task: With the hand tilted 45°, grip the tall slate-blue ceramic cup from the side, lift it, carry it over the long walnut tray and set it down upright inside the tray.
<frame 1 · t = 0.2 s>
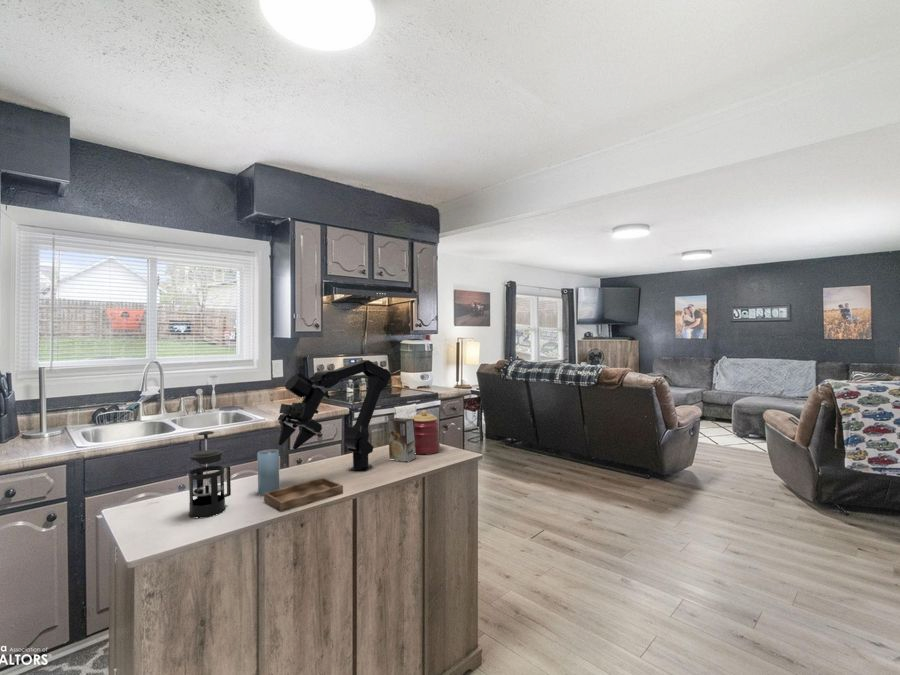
hand: (286, 446, 146), 14 cm above the counter, tool tilted 35°, fingers open, 9 cm apart
cup: (269, 492, 144), on the counter
french press: (209, 511, 129), on the counter
tray: (304, 497, 139), on the counter
coffee box: (402, 459, 180), on the counter
canister: (424, 451, 191), on the counter
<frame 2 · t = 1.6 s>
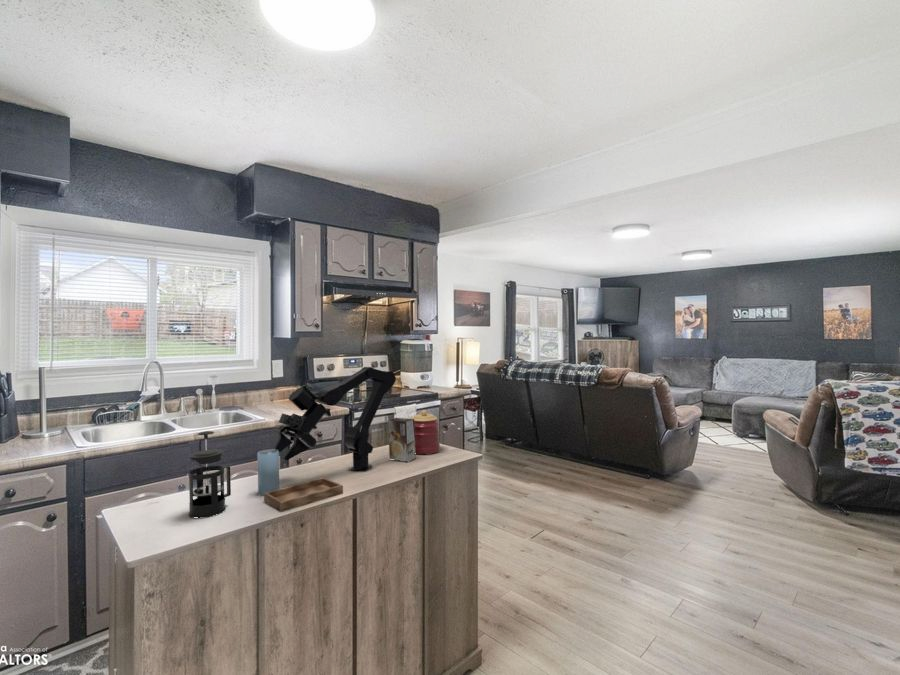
hand: (279, 457, 147), 11 cm above the counter, tool tilted 45°, fingers open, 9 cm apart
nothing on the counter moved.
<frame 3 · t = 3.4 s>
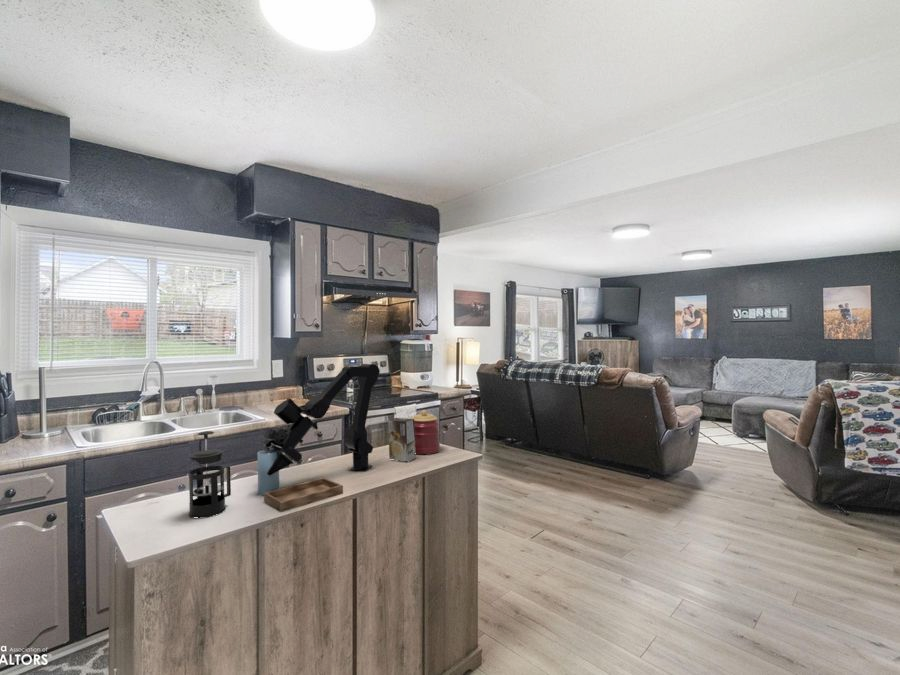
hand: (264, 472, 143), 7 cm above the counter, tool tilted 45°, fingers closed on cup, 6 cm apart
cup: (269, 492, 144), on the counter, touching gripper
everything else where it was.
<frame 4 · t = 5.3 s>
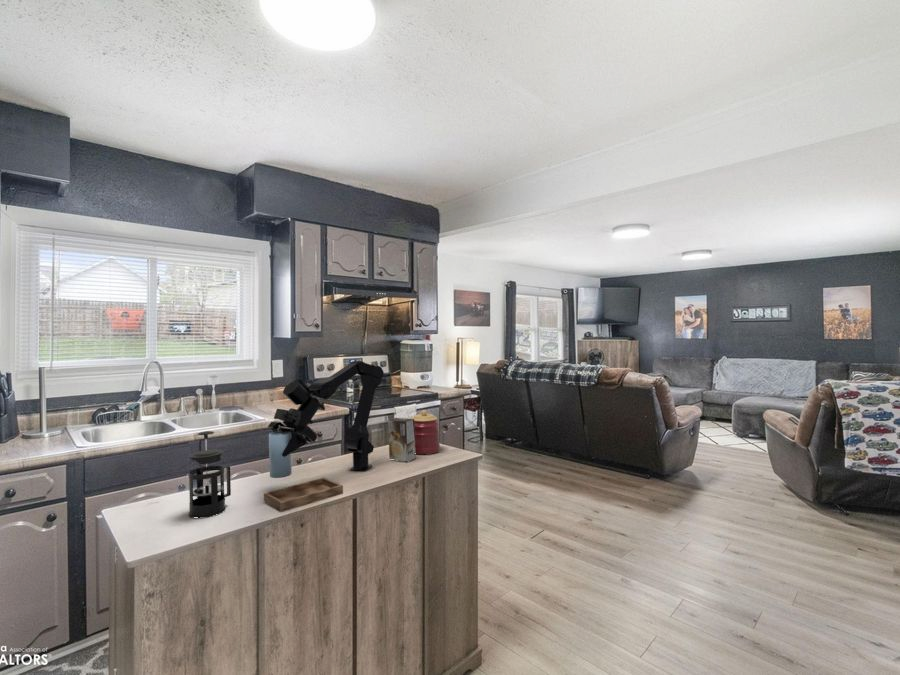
hand: (276, 454, 139), 13 cm above the counter, tool tilted 45°, fingers closed on cup, 6 cm apart
cup: (280, 474, 140), point 7 cm above the counter, touching gripper
everything else where it was.
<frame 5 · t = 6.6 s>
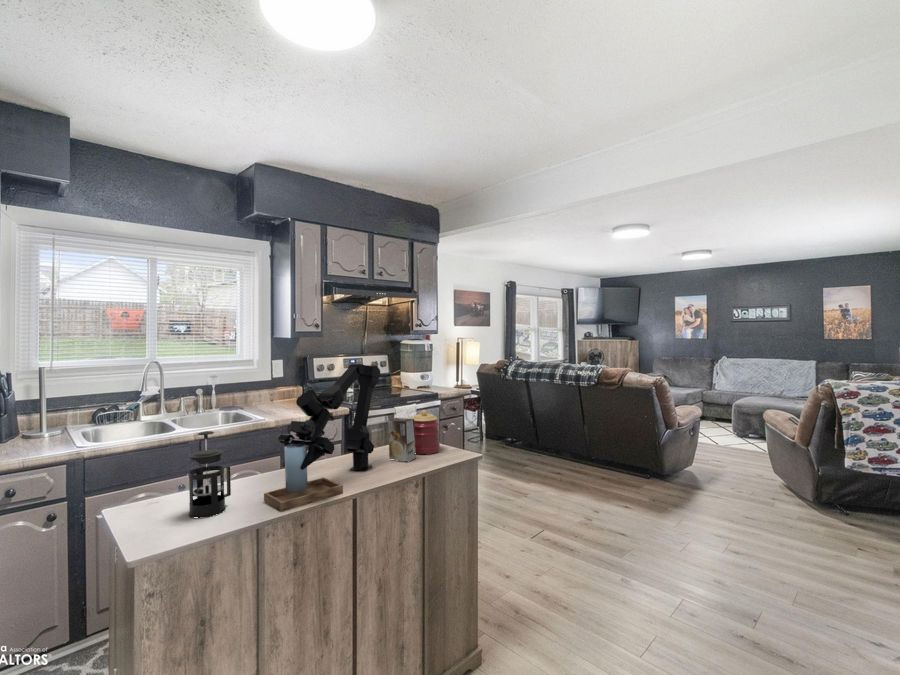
hand: (292, 468, 136), 10 cm above the counter, tool tilted 45°, fingers closed on cup, 6 cm apart
cup: (296, 488, 137), point 3 cm above the counter, touching gripper
everything else where it was.
when the fingers open (8 cm above the counter, at t = 7.5 s): cup drops 1 cm, resting on tray.
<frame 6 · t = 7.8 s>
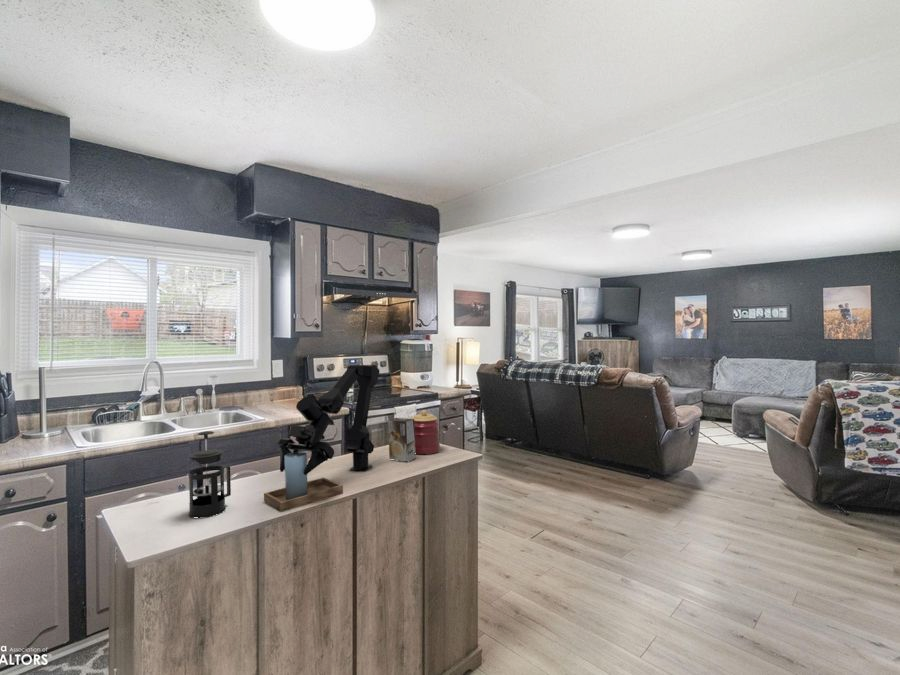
hand: (292, 472, 136), 9 cm above the counter, tool tilted 45°, fingers open, 9 cm apart
cup: (296, 497, 137), point 1 cm above the counter, touching tray
everything else where it was.
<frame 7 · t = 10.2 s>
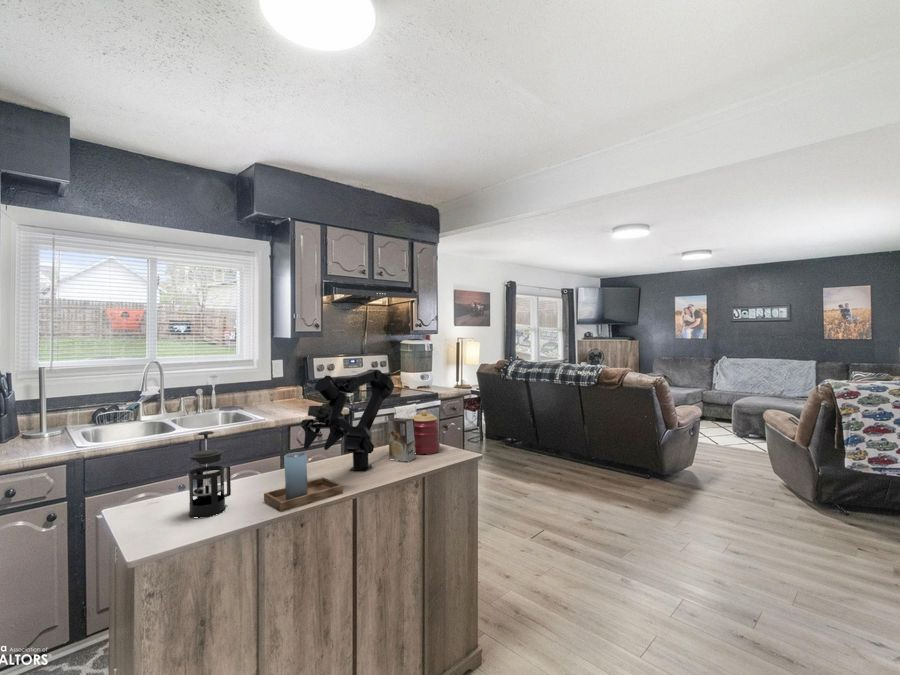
hand: (314, 449, 145), 13 cm above the counter, tool tilted 40°, fingers open, 9 cm apart
nothing on the counter moved.
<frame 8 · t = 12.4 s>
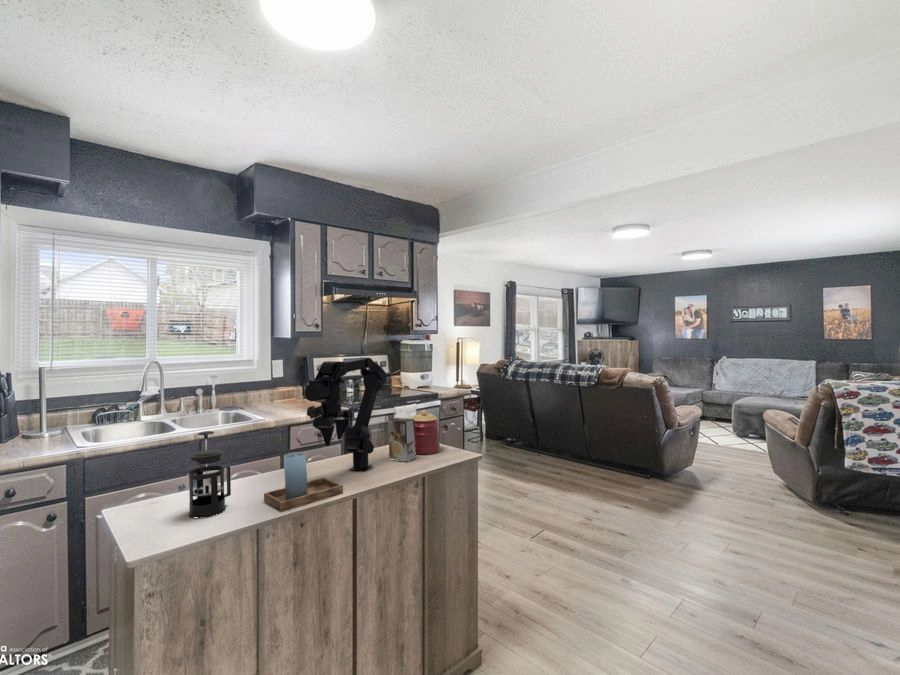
hand: (333, 442, 155), 13 cm above the counter, tool pointing down, fingers open, 9 cm apart
nothing on the counter moved.
at the end: cup inside the target area on the tray (0.8 cm from its centre), point 0.7 cm above the tray's base; cup tilted 1°; the gripper is holding nothing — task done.
